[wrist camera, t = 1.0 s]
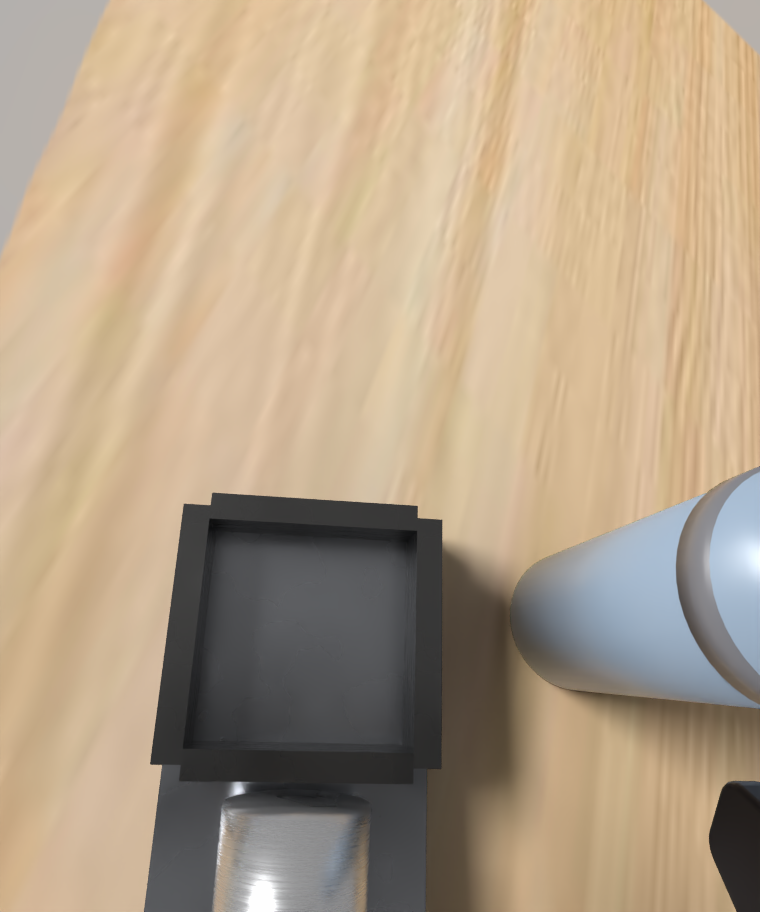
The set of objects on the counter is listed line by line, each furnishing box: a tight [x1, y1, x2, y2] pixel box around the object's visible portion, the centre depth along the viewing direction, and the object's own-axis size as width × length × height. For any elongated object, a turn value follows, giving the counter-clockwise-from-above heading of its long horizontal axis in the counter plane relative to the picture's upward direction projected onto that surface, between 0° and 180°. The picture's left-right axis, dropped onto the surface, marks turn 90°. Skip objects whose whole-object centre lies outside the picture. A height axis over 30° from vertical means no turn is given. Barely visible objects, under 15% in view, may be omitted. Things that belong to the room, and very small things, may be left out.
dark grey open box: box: [144, 493, 442, 912], centre depth 19 cm, size 15×8×6 cm, turn 178°
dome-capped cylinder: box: [510, 466, 760, 709], centre depth 18 cm, size 5×5×13 cm
